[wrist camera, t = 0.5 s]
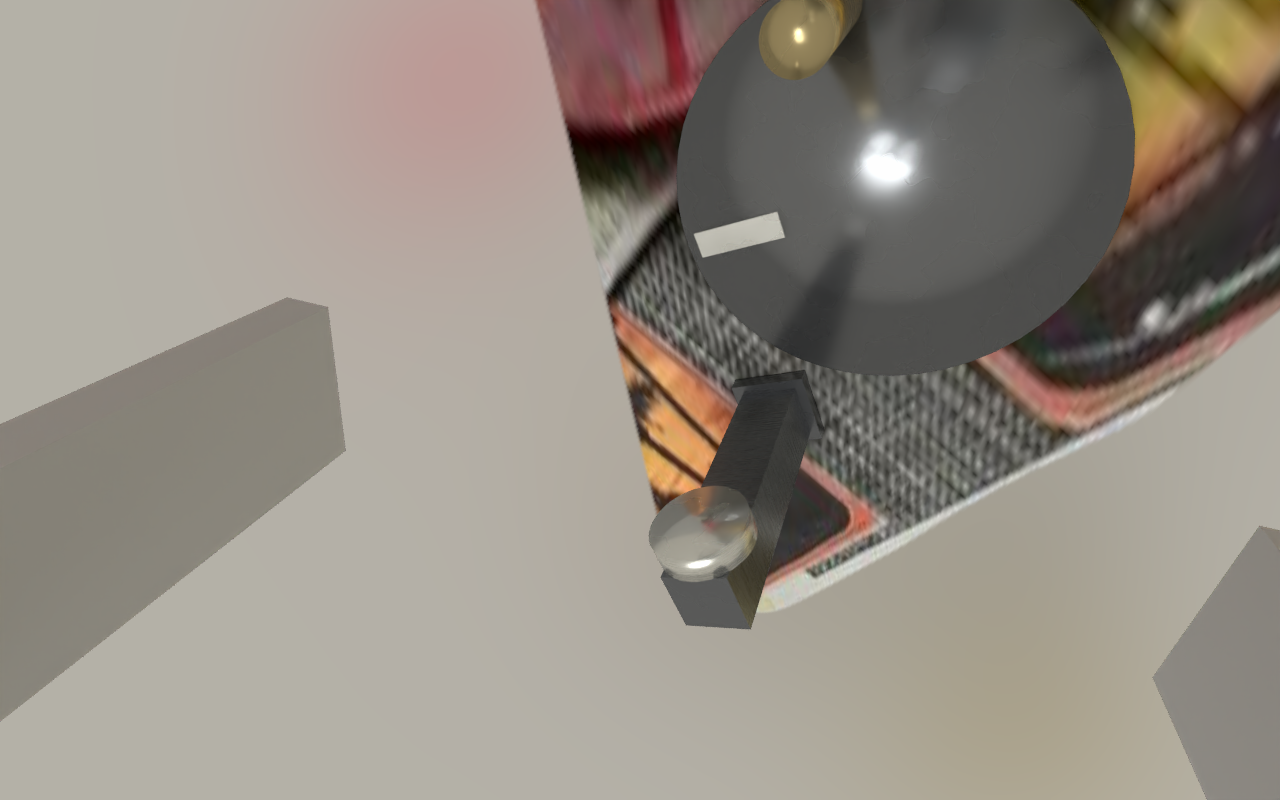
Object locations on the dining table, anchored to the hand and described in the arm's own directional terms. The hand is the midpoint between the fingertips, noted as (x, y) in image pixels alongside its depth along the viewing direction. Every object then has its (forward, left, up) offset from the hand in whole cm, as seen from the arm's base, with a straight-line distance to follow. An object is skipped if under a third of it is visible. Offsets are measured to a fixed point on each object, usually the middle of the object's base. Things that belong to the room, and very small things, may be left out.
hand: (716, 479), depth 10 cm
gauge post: (+9, +15, -24) cm, 29 cm away
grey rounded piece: (+1, +4, -24) cm, 24 cm away
